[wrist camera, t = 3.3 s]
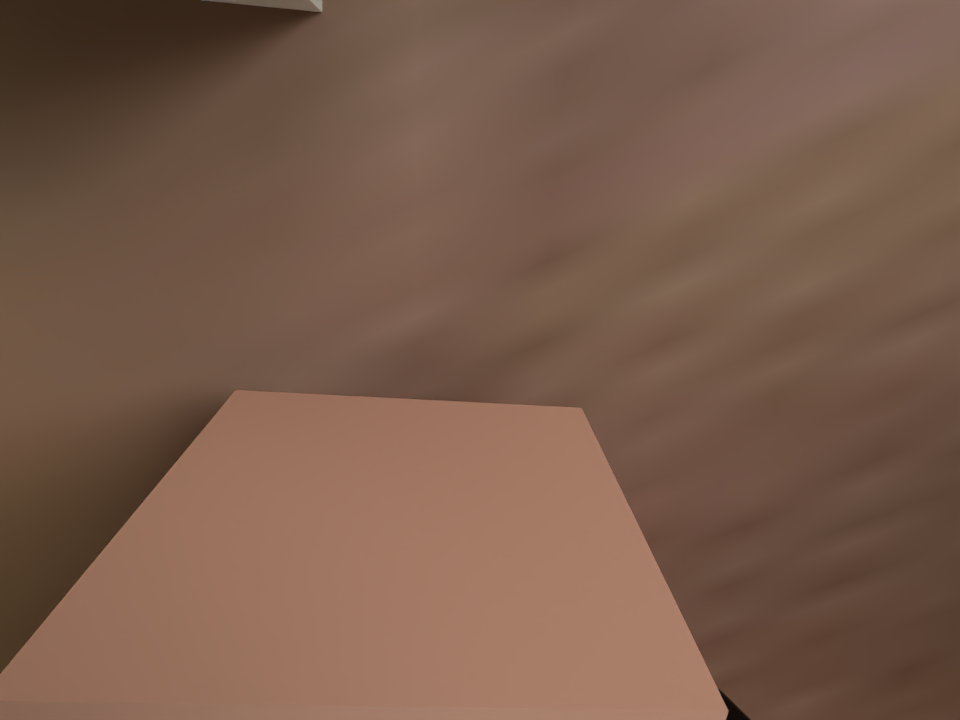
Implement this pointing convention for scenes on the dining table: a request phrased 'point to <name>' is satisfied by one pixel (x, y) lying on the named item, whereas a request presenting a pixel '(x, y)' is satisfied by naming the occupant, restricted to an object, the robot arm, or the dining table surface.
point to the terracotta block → (372, 578)
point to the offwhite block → (280, 4)
